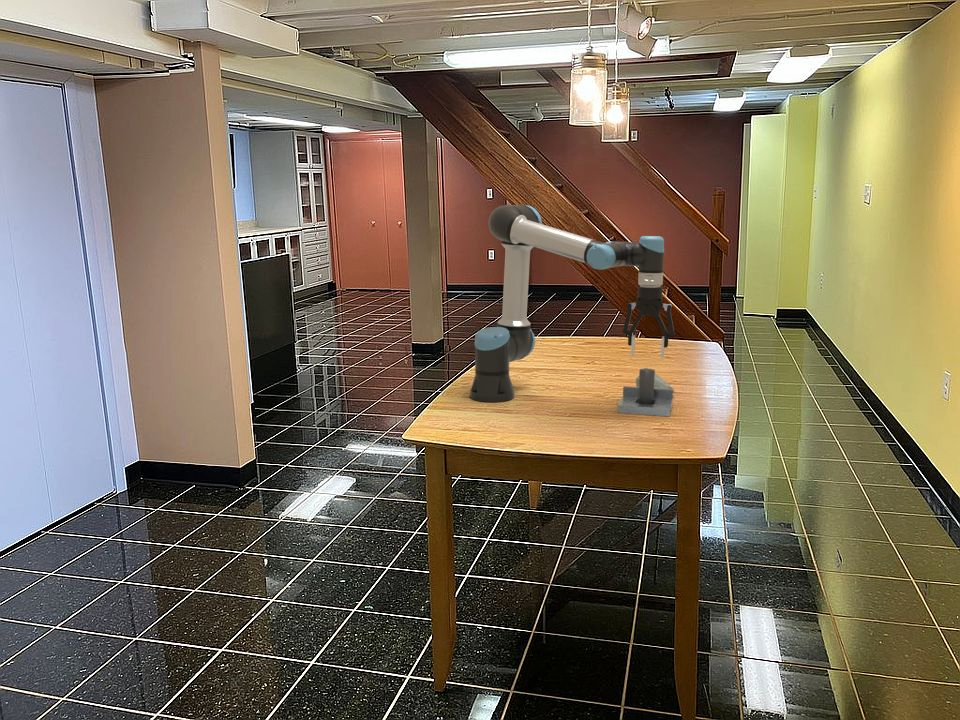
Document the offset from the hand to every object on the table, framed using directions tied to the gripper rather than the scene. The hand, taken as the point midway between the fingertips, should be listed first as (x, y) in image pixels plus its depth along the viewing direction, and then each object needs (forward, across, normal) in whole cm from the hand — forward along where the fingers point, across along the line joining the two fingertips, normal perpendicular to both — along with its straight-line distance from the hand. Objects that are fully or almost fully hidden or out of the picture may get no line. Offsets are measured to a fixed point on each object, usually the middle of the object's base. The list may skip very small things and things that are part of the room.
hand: (647, 356), depth 259 cm
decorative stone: (+18, +1, +19) cm, 26 cm away
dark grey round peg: (+17, 0, 0) cm, 17 cm away
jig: (+17, 0, 0) cm, 17 cm away
